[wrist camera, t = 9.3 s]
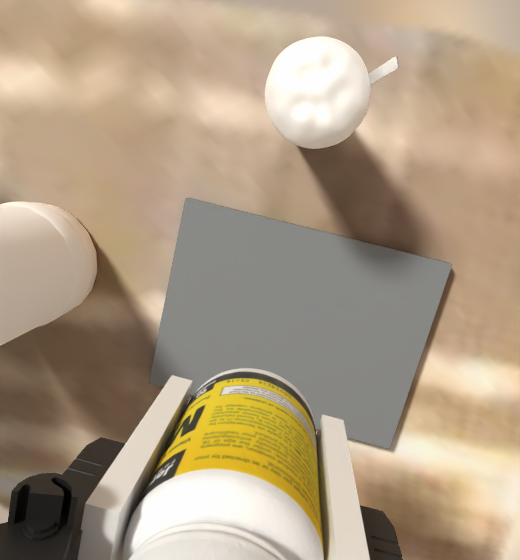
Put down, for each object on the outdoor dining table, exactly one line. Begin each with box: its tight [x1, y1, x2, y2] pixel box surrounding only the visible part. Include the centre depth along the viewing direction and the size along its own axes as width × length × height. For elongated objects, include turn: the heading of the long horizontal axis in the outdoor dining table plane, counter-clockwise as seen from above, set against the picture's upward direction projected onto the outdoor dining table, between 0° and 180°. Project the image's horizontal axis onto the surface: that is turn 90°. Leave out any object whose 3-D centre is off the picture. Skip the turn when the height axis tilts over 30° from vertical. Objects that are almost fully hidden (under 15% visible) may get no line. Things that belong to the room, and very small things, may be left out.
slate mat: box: [149, 198, 452, 449], centre depth 29 cm, size 17×13×1 cm
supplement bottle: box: [123, 368, 324, 560], centre depth 12 cm, size 5×5×8 cm
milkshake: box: [265, 37, 399, 149], centre depth 22 cm, size 4×5×10 cm
